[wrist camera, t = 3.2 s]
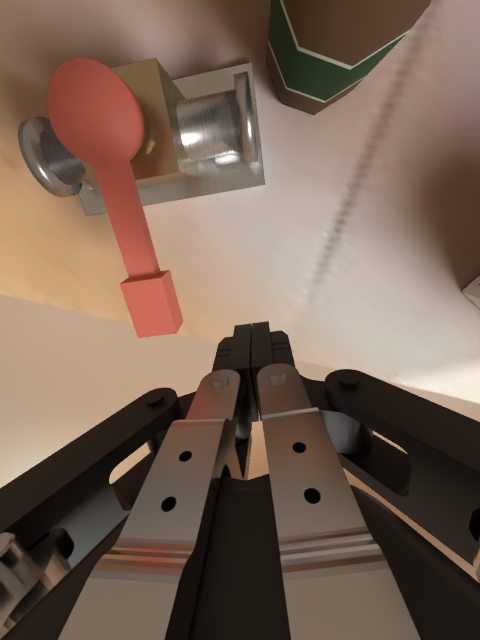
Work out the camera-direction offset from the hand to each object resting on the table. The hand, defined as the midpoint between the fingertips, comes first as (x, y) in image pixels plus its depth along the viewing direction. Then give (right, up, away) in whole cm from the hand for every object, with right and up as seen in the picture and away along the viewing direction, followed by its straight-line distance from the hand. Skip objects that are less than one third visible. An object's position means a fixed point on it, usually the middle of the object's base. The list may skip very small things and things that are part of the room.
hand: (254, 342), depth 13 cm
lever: (-8, +8, +6) cm, 12 cm away
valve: (-8, +17, +14) cm, 23 cm away
